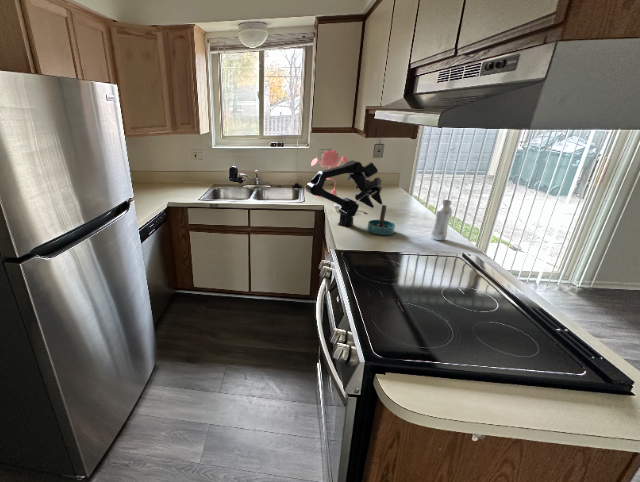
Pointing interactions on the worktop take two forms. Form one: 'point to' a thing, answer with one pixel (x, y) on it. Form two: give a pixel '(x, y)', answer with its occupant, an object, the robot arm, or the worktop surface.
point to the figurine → (330, 162)
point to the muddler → (382, 216)
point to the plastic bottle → (442, 221)
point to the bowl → (380, 230)
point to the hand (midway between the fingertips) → (377, 205)
